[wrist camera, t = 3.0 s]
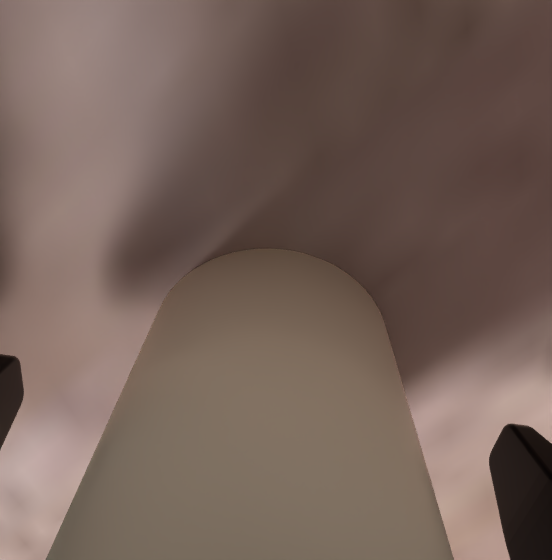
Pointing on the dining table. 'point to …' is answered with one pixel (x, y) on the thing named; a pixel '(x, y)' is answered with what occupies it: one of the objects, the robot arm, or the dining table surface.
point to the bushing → (259, 429)
